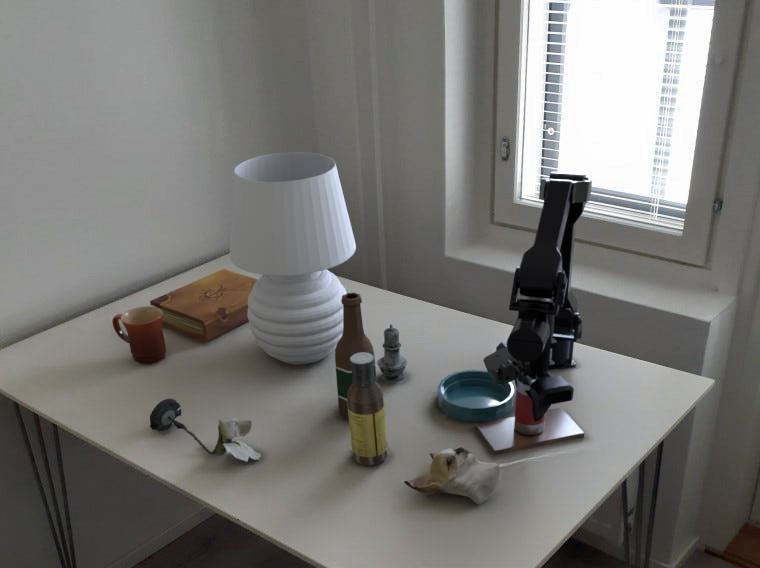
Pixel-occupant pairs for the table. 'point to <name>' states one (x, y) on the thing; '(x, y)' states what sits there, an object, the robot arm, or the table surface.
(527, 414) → the can
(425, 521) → the table surface
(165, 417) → the artificial flower
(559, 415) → the board
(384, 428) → the sauce bottle
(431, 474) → the ceramic sculpture
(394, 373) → the grey tall rounded piece
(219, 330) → the diary
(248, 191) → the table lamp
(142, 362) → the mug
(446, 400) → the dish
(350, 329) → the beer bottle
